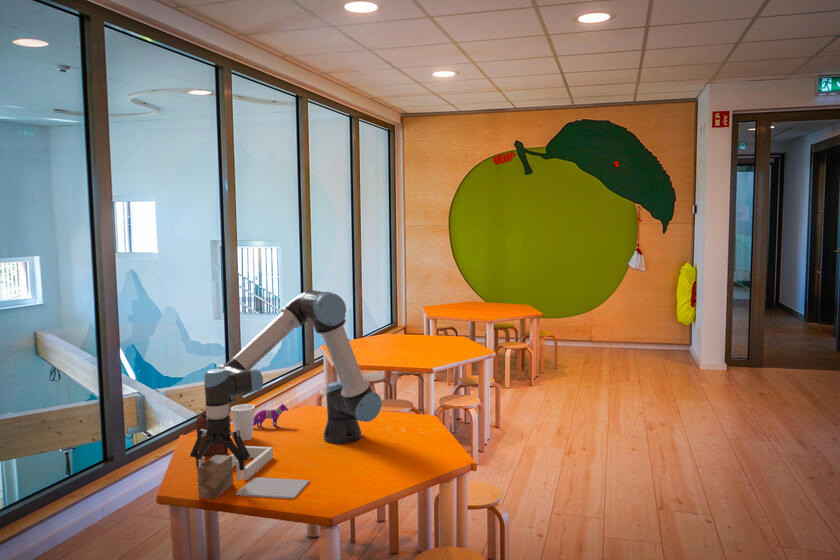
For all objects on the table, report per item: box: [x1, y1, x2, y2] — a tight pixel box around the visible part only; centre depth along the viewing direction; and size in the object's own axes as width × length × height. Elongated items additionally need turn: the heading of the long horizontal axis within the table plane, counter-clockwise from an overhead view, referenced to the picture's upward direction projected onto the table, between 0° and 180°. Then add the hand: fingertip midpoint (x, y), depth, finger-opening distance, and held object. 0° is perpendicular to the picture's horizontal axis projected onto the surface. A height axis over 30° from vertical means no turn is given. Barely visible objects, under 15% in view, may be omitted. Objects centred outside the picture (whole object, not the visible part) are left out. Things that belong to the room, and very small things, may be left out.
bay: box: [229, 445, 274, 481], centre depth 245 cm, size 12×22×4 cm, turn 169°
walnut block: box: [196, 454, 234, 500], centre depth 224 cm, size 6×12×10 cm, turn 168°
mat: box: [235, 476, 311, 500], centre depth 225 cm, size 20×14×1 cm
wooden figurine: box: [195, 408, 229, 457], centre depth 260 cm, size 12×6×18 cm, turn 96°
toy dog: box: [253, 402, 289, 429], centre depth 291 cm, size 4×18×10 cm, turn 99°
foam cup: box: [230, 403, 256, 442], centre depth 277 cm, size 10×9×13 cm
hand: (221, 478), depth 227 cm, fingers open, 13 cm apart
